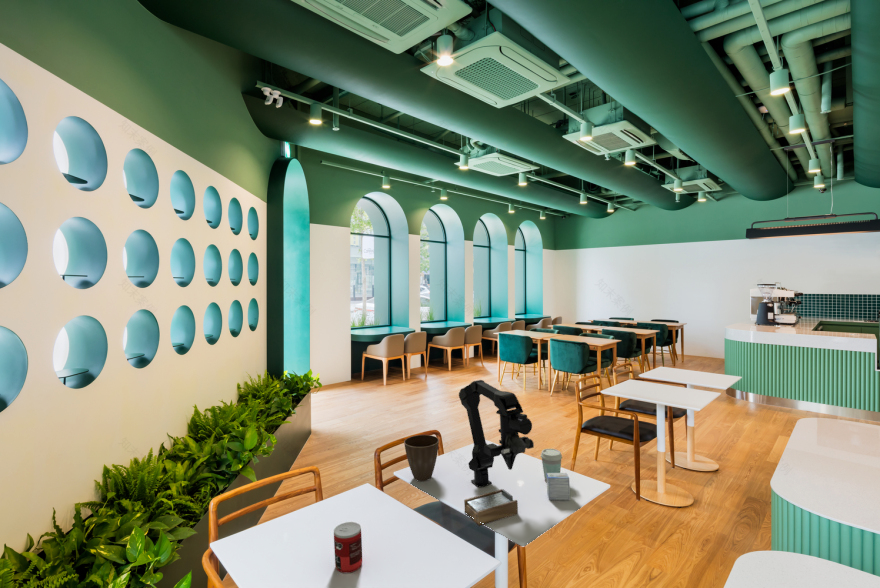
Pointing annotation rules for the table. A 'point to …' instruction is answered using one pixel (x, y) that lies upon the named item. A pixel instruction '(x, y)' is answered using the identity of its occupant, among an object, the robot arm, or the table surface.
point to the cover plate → (490, 501)
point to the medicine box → (558, 486)
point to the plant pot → (422, 455)
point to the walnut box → (491, 510)
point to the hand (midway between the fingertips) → (510, 469)
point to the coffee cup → (551, 461)
